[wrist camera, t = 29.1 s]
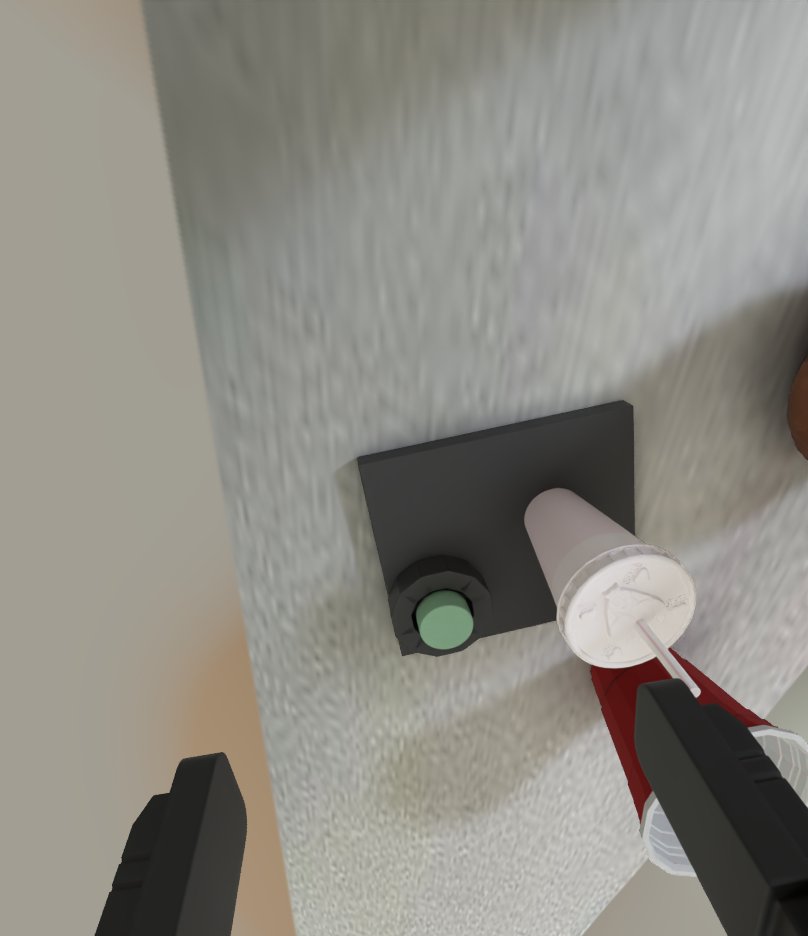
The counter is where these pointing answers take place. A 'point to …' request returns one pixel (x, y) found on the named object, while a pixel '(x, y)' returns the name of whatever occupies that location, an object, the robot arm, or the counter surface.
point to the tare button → (444, 619)
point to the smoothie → (610, 585)
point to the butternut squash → (799, 409)
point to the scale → (490, 513)
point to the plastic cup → (617, 697)
